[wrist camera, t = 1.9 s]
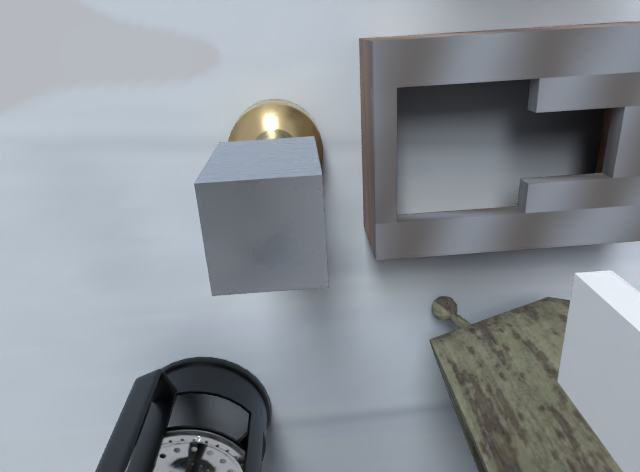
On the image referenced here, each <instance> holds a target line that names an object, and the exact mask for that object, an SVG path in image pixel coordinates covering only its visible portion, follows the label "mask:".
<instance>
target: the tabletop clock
mask: <svg viewBox="0 0 640 472" xmlns="http://www.w3.org/2000/svg"><path fill="white" fill-rule="evenodd" d="M569 305H570V300H564V299H558V298H551V297H547V298H544V299H541V300H539V301H536V302H533V303H530V304H528V305H525V306H522V307H519V308H516V309H514V310H511V311H508V312H505V313H503V314H500V315H497V316H494V317H491V318H489V319H486V320H483V321H480V322H478V323H475V324H470V323H469V322H467V321H466V320H465V319H463V318H462V317H460V316H459V315H458V314H456V313H457V304H456V303H455V302H454V300H453V299H452V298H450V297H444V296H441V297H439V298H437V299H436V300H435V301H434V303H433V305H432V311H433V314H434V315H435V316H436V317H437V318H438V319H439V320H445V321H448V320H452V321H453V322H454V323H455V325H456V326H457V327H458V328H459V329H458V330H455V331H453V332H450V333H447V334H444V335H442V336H439V337H436V338H433V339H430V343H431V346H432V349H433V352H434V355H435V357H436V360H437V363H438V366H439V368H440V371H441V374H442V376H443V379H444V382H445V384H446V387H447V390H448V392H449V395H450V398H451V400H452V403H453V406H454V408H455V411H456V414H457V416H458V419H459V421H460V424H461V427H462V429H463V432H464V435H465V437H466V440H467V442H468V445H469V448H470V450H471V453H472V455H473V458H474V461H475V463H476V466H477V468H478V471H479V472H623V471H622V470H621V468H620V467H619V466H618V464H617V463H616V461H615V460H614V459H613V457H612V456H611V455H610V453H609V452H608V450H607V449H606V448H605V446H604V445H603V444H602V442H601V441H600V439H599V438H598V437H597V435H596V434H595V432H594V431H593V430H592V428H591V427H590V426H589V424H588V423H587V421H586V420H585V419H584V417H583V416H582V415H581V413H580V412H579V410H578V409H577V408H576V406H575V405H574V404H573V402H572V401H571V399H570V398H569V397H568V395H567V394H566V393H565V391H564V390H563V388H562V387H561V386H560V384H559V383H558V382H557V381H558V375H559V368H560V362H561V356H562V349H563V343H564V337H565V330H566V324H567V318H568V312H569Z"/></svg>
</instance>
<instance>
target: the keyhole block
mask: <svg viewBox="0 0 640 472" xmlns="http://www.w3.org/2000/svg"><path fill="white" fill-rule="evenodd" d="M359 47H360V88H361V129H362V170H363V211H364V228H365V231H366V234H367V236H368V239H369V242H370V245H371V247H372V250H373V253H374V256H375V258H376V260H389V259H402V258H416V257H429V256H443V255H456V254H470V253H483V252H497V251H511V250H524V249H538V248H551V247H565V246H578V245H592V244H605V243H619V242H633V241H640V22H617V23H601V24H585V25H569V26H553V27H537V28H521V29H505V30H489V31H473V32H457V33H441V34H424V35H408V36H392V37H376V38H360V39H359ZM522 79H530V88H529V98H528V108H527V110H530V111H533V112H536V113H539V112H554V111H569V110H584V109H599V108H605V115H604V121H603V127H602V133H601V140H600V146H599V152H598V158H597V165H596V171H595V173H593V174H578V175H564V176H550V177H535V178H521V179H520V187H519V197H518V206H515V207H501V208H487V209H473V210H459V211H445V212H431V213H417V214H403V215H397V88H399V87H414V86H430V85H445V84H461V83H476V82H491V81H507V80H522Z"/></svg>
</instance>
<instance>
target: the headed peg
mask: <svg viewBox="0 0 640 472" xmlns="http://www.w3.org/2000/svg"><path fill="white" fill-rule="evenodd" d="M322 158H323V147H322V141H321V137H320V133H319V130H318V127H317V125H316V123H315V121H314V120H313V118H312V117H311V116H310V115H309V114H308V113H307V111H305V110H304V109H303V108H302V107H300V106H298V105H297V104H295V103H292V102H290V101H286V100H281V99H270V100H264V101H261V102H258V103H256V104H254V105H252V106H251V107H249V108H248V109H247V110H246V111H245V112H244V113H243V114H242V115H241V116H240V117H239V119H238V120H237V122H236V124H235V126H234V128H233V129H232V131H231V134H230V137H229V141H228V142H220V143H219V144H218V146H217V147H216V149H215V151H214V152H213V154H212V156H211V157H210V159H209V160H208V162H207V164H206V165H205V167H204V169H203V170H202V172H201V173H200V175H199V177H198V178H197V180H196V182H195V183H194V185H195V192H196V198H197V204H198V210H199V217H200V223H201V229H202V235H203V242H204V248H205V254H206V261H207V267H208V273H209V279H210V286H211V292H212V296H217V295H231V294H244V293H257V292H271V291H284V290H297V289H311V288H324V287H329V285H328V267H327V249H326V232H325V214H324V196H323V179H322V171H321V163H322Z"/></svg>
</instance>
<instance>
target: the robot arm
mask: <svg viewBox="0 0 640 472" xmlns="http://www.w3.org/2000/svg"><path fill="white" fill-rule="evenodd" d="M557 382H558V383H559V384H560V386H561V387H562V388H563V390H564V391H565V393H566V394H567V395H568V397H569V398H570V399H571V401H572V402H573V404H574V405H575V406H576V408H577V409H578V410H579V412H580V413H581V415H582V416H583V417H584V419H585V420H586V421H587V423H588V424H589V426H590V427H591V428H592V430H593V431H594V432H595V434H596V435H597V437H598V438H599V439H600V441H601V442H602V444H603V445H604V446H605V448H606V449H607V450H608V452H609V453H610V455H611V456H612V457H613V459H614V460H615V461H616V463H617V464H618V466H619V467H620V468H621V470H622V471H623V472H640V292H638V291H637V290H636V289H635V288H633V287H632V286H631V285H629V284H628V283H627V282H626V281H624V280H623V279H622V278H621V277H619V276H618V275H617V274H616V273H614V272H613V271H612V270H610V271H596V272H581V273H575V274H574V280H573V286H572V293H571V299H570V305H569V312H568V318H567V324H566V330H565V337H564V343H563V349H562V356H561V362H560V368H559V375H558V381H557Z"/></svg>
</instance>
